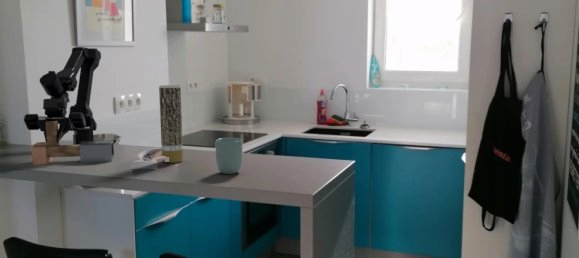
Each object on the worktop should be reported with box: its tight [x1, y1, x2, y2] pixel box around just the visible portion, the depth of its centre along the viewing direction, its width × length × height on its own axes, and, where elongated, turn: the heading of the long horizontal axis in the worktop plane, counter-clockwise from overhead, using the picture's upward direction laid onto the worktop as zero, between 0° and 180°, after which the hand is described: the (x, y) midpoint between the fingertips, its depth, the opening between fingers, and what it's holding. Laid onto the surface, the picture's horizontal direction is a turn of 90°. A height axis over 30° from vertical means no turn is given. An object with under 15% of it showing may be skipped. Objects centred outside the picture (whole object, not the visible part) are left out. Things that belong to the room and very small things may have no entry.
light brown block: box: [30, 141, 53, 166], centre depth 192 cm, size 4×7×6 cm, turn 7°
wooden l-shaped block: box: [46, 121, 80, 158], centre depth 192 cm, size 16×3×12 cm, turn 98°
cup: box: [214, 137, 244, 175], centre depth 173 cm, size 8×8×10 cm
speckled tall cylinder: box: [158, 84, 184, 164], centre depth 190 cm, size 7×7×25 cm
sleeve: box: [79, 140, 115, 163], centre depth 194 cm, size 10×5×6 cm, turn 98°
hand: (51, 141), depth 190 cm, fingers closed on wooden l-shaped block, 3 cm apart
